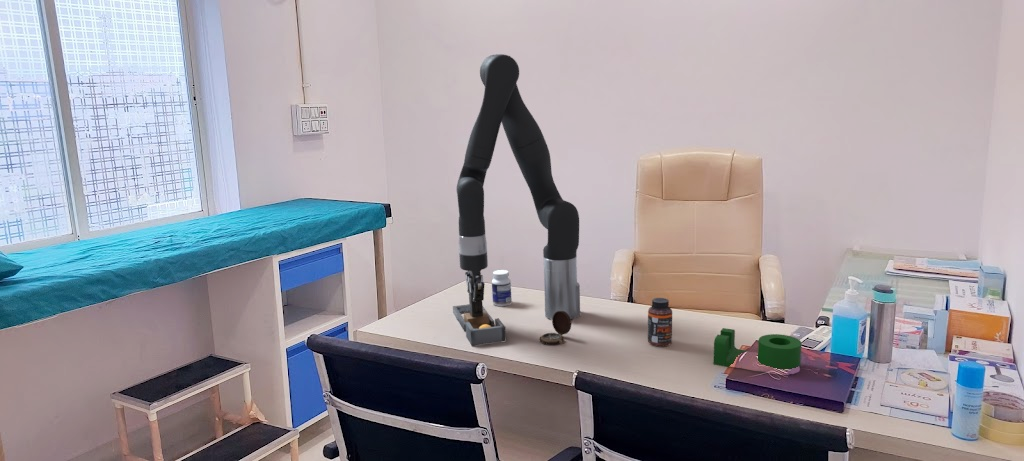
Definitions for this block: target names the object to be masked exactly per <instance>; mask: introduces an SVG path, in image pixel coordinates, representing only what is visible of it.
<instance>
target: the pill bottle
mask: <svg viewBox="0 0 1024 461" xmlns="http://www.w3.org/2000/svg"><path fill="white" fill-rule="evenodd" d="M509 276H510V274H509V270H506V269H499V270H494V271H493V272H492V277H493V278H492V280H491V290H492V293H491V294H492V304H493V305H494V306H497V307H507V306H509V305H511V304H512V302H513V301H512V284H511V283H512V282H511V279H510V278H509Z"/></svg>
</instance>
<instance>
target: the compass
mask: <svg viewBox="0 0 1024 461" xmlns="http://www.w3.org/2000/svg"><path fill="white" fill-rule="evenodd" d="M551 320H552V327H553V329H554V331H555V332H549V333H545V334H543V335H541V336H540V337H539V342H540V344H543V345H547V346H556V345H561V344H562V345H563V344H566V343H567V340H564V336H563V335H566V334H568V333H569V332H571V331H570V330H571V328H572V319H570V317H569V315H568V314H567V313H566V312H565V311H563V310H562V311H557V312H556V313H555V314H554V315H553V318H552V319H551Z"/></svg>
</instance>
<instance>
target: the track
mask: <svg viewBox="0 0 1024 461" xmlns="http://www.w3.org/2000/svg"><path fill="white" fill-rule="evenodd" d="M483 311H485V312H486V313H487V314H488V316H489V323H490V326H491V327H495V319H493V317H492V316H491V314H490V313H489V312H488V311H487V310H486V307H484V306H483ZM464 312H465V313H470V305H469V304H461V305H460V304H459V305H452V313H453V315H454V317H455V318H456V320H457V322H458V324H459V325H460V326H461V328H462V330H463V331H464V333H466V323H465V320H464V316H463V315H462V314H464Z"/></svg>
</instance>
